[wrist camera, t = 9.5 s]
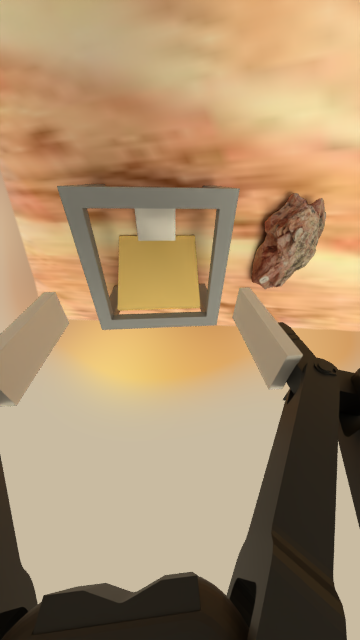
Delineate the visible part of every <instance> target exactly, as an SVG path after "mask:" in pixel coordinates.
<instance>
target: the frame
mask: <svg viewBox="0 0 360 640" xmlns="http://www.w3.org/2000/svg"><path fill="white" fill-rule="evenodd" d="M57 188H58V191H59V194H60V197H61V201H62V204H63V207H64V210H65V213H66V216H67V220H68V223H69V226H70V229H71V232H72V236H73V239H74V242H75V245H76V248H77V251H78V255H79V258H80V261H81V264H82V267H83V270H84V274H85V277H86V280H87V283H88V286H89V290H90V293H91V296H92V299H93V302H94V305H95V309H96V312H97V315H98V318H99V321H100V324H101V328H102V329H103V330H107V329H132V328H157V327H182V326H208V325H217V319H218V313H219V307H220V301H221V295H222V289H223V284H224V278H225V272H226V266H227V260H228V254H229V248H230V242H231V236H232V231H233V225H234V219H235V213H236V207H237V201H238V195H239V189H237V188H229V187H220V186H203V188H180V187H108V186H105V184H85V185H69V186H57ZM87 208H142V209H217V211H216V220H215V229H214V237H213V246H212V255H211V264H210V272H209V281H208V290H207V288H206V286H205V284H199V296H200V309H201V312H180V313H151V314H122V315H119V312H120V311H119V310H118V286H114V288H113V291H112V293H111V295H110V297H109V295H108V291H107V287H106V283H105V279H104V275H103V271H102V267H101V263H100V259H99V255H98V251H97V247H96V243H95V239H94V235H93V231H92V227H91V223H90V219H89V215H88V211H87Z"/></svg>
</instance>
